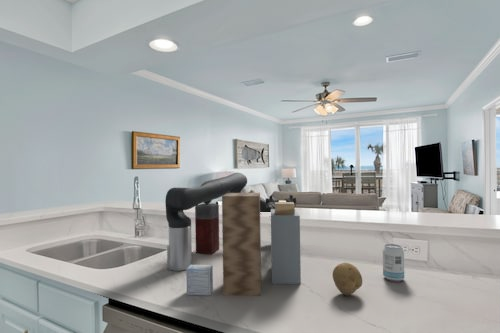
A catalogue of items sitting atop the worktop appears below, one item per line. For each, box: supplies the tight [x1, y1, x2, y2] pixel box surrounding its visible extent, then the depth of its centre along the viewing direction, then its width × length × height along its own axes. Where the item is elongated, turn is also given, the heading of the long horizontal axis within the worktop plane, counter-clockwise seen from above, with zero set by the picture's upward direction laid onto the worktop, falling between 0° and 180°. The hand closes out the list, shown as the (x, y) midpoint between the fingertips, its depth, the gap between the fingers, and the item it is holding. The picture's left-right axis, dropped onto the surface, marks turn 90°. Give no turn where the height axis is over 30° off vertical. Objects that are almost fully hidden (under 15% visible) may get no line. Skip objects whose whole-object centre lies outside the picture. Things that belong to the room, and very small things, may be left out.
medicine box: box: [185, 264, 214, 296], centre depth 94 cm, size 8×4×9 cm, turn 84°
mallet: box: [275, 199, 296, 215], centre depth 112 cm, size 20×7×4 cm, turn 176°
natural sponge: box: [332, 262, 363, 297], centre depth 91 cm, size 9×9×10 cm
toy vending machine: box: [194, 200, 220, 255], centre depth 142 cm, size 9×11×28 cm
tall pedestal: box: [221, 192, 262, 297], centre depth 98 cm, size 12×12×32 cm
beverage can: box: [382, 243, 405, 283], centre depth 103 cm, size 7×7×12 cm
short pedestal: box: [270, 209, 302, 285], centre depth 108 cm, size 10×16×24 cm, turn 177°
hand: (281, 196), depth 128 cm, fingers open, 8 cm apart
